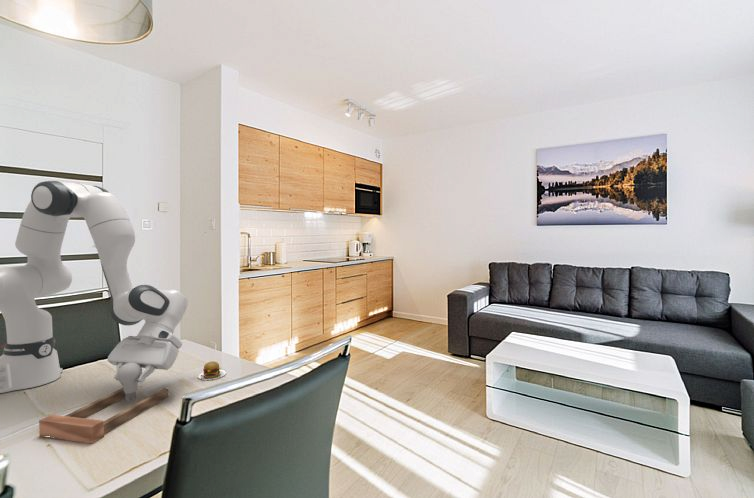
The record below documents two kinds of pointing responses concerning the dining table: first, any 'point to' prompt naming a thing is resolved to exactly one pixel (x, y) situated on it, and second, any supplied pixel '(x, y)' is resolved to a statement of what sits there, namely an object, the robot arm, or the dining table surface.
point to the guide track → (90, 429)
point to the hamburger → (211, 370)
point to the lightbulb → (129, 379)
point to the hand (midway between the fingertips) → (128, 380)
